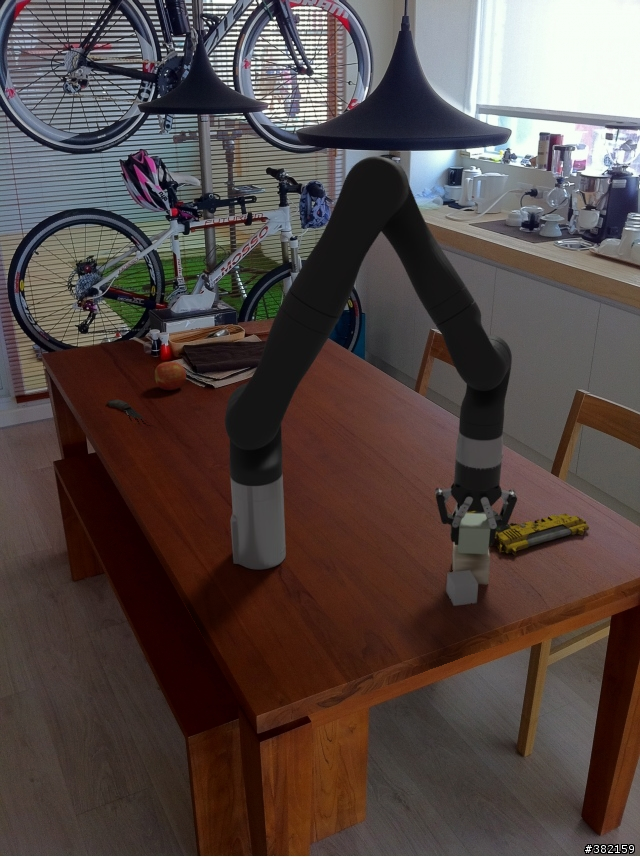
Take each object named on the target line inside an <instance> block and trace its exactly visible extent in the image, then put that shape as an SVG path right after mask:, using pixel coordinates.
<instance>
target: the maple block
mask: <svg viewBox="0 0 640 857" xmlns="http://www.w3.org/2000/svg"><path fill="white" fill-rule="evenodd" d="M452 544H453V545H452V556H451V557H452V559H451V560H452V561H451V566H452V567H451V568H452V570H453V571H452V570H451V571H452V572H457V571H466V570H470V571H471V573H472V574H473V576H474V577H475V579H476V581H477V582H478V585H487V584H488V585H489V580H490V568H491V557H490V551H489V549H490V548H488V554H472V553H458V545H455V544H454V542H452Z"/></svg>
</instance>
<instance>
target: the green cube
mask: <svg viewBox="0 0 640 857" xmlns="http://www.w3.org/2000/svg"><path fill="white" fill-rule="evenodd" d="M489 537H490V526H489V523H488V520H487V517H486V514H475V513H467V512H466V514H465V516H464V518H462V520H461V522H460V524H459V540H458V553H472V554H488V549H490V548H489V547H490V546H489Z"/></svg>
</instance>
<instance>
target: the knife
mask: <svg viewBox="0 0 640 857" xmlns="http://www.w3.org/2000/svg"><path fill="white" fill-rule="evenodd" d="M106 404H107V406H109V407H111V406H113V407H112V408H114V407H117V408H116V409H119V408H120V409H119V410H121V409H122V410H121V411H123V412H125V411H126V412H125V413H126V415H127V416H128V415H130V416H132V417H134V418H136V417H138V418H140V419H143V418H144V416H142V415H141V414H140V413H139V412H137V410H135V409H134V408H132V405H130V404H129V403H128V402H126V401H123V400H122V399H110V400H108V401H107V402H106ZM141 416H142V417H141Z"/></svg>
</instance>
